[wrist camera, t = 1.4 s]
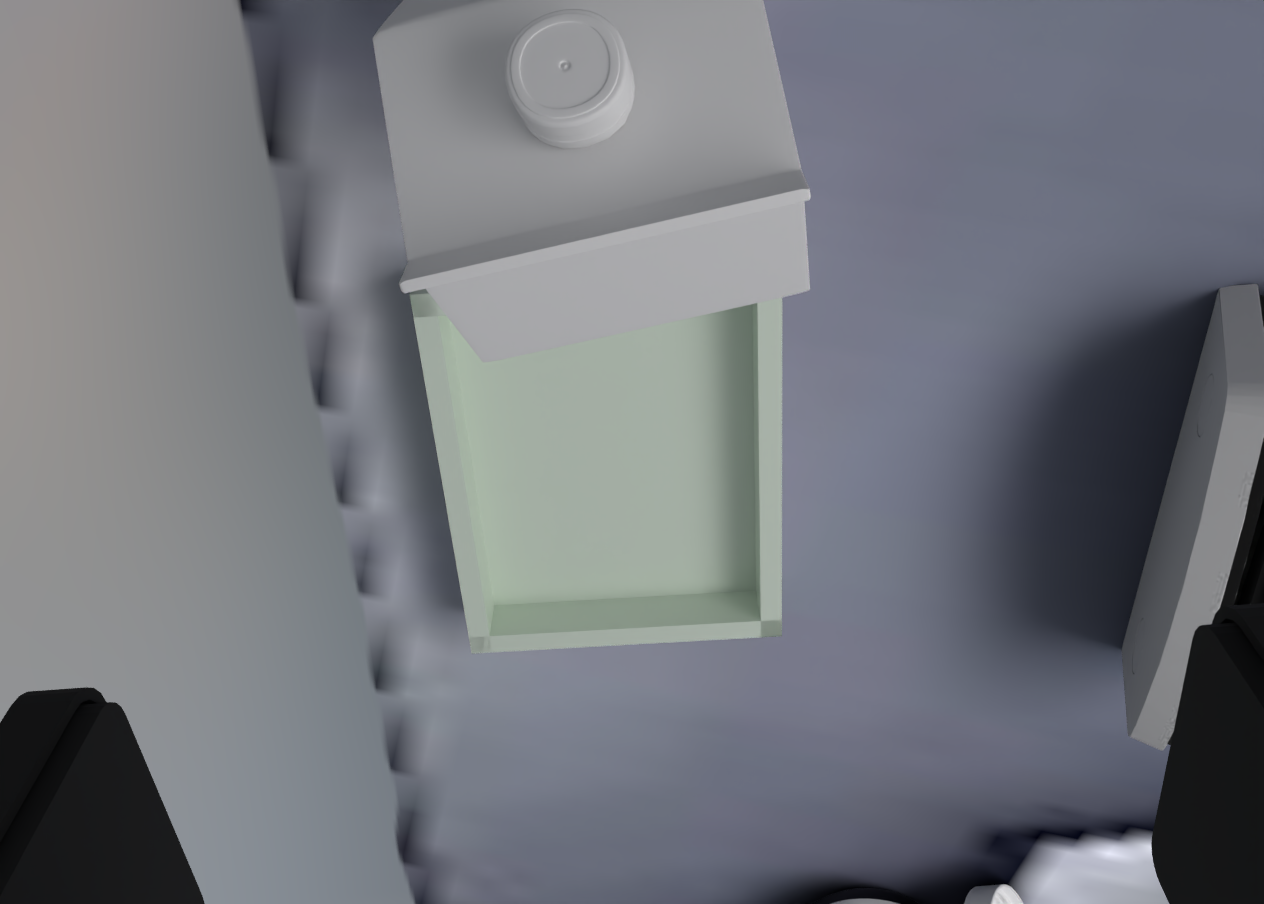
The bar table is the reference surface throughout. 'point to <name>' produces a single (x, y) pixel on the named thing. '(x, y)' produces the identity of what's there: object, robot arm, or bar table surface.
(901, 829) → the bar table surface
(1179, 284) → the bar table surface
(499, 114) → the milk carton
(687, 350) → the tray
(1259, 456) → the grey piece
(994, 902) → the spread jar
